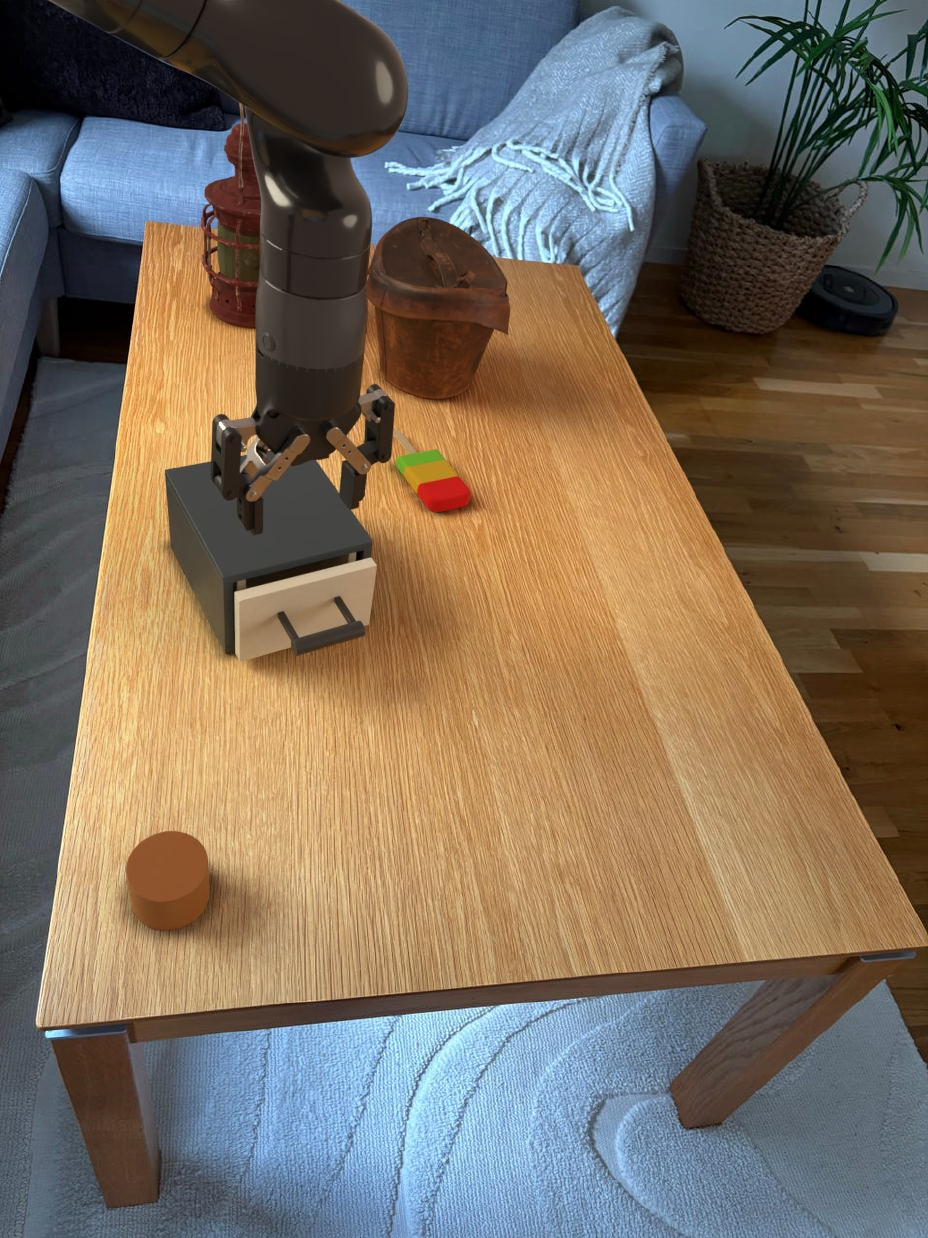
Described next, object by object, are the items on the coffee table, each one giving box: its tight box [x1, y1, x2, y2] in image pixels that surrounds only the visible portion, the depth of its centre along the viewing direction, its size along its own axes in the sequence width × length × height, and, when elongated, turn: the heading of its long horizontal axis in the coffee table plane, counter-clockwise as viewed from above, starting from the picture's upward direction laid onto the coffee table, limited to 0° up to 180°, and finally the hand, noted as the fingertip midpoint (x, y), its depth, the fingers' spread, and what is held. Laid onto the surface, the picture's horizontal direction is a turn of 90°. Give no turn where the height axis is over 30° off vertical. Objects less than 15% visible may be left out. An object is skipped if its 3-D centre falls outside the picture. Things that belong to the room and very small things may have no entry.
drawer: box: [233, 552, 378, 663], centre depth 87 cm, size 20×13×8 cm
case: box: [367, 216, 511, 400], centre depth 119 cm, size 18×20×18 cm
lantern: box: [200, 102, 261, 329], centre depth 119 cm, size 12×12×30 cm
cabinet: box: [164, 449, 374, 655], centre depth 90 cm, size 16×14×10 cm
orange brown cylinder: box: [125, 830, 211, 931], centre depth 67 cm, size 6×6×4 cm
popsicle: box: [393, 429, 471, 513], centre depth 110 cm, size 6×15×2 cm, turn 29°
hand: (301, 515), depth 75 cm, fingers open, 8 cm apart
